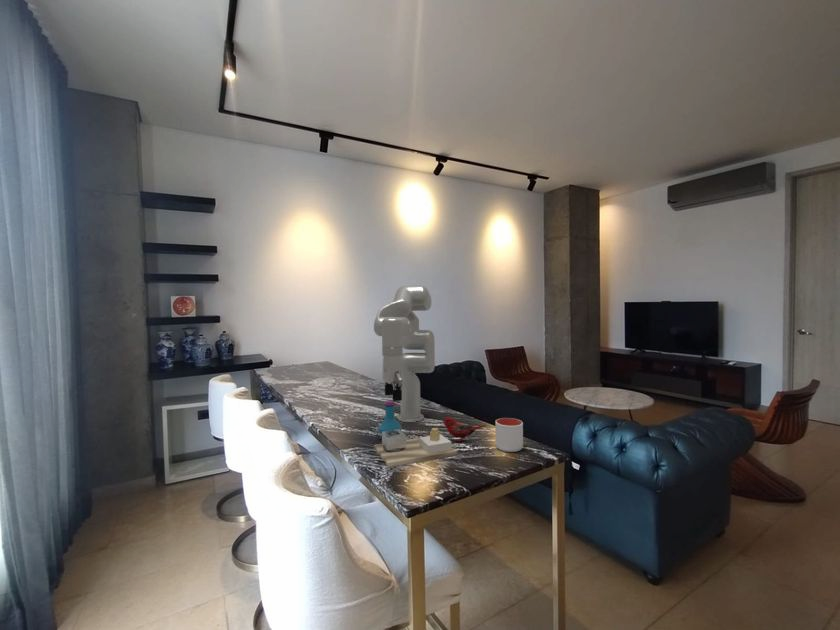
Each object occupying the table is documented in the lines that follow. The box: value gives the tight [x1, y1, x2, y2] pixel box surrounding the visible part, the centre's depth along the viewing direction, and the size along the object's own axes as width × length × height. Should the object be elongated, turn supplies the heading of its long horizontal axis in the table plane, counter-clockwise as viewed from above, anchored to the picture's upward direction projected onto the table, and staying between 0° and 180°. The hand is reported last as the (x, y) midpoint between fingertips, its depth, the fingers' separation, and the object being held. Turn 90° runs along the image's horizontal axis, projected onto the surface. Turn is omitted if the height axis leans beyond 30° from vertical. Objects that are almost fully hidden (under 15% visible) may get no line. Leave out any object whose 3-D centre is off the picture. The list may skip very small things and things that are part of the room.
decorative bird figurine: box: [442, 416, 487, 443], centre depth 150 cm, size 3×18×10 cm, turn 95°
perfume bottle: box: [378, 400, 402, 437], centre depth 154 cm, size 9×9×15 cm
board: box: [373, 437, 458, 468], centre depth 140 cm, size 18×26×2 cm
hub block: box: [418, 427, 452, 454], centre depth 140 cm, size 9×9×7 cm
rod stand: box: [383, 431, 405, 452], centre depth 140 cm, size 8×8×6 cm
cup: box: [495, 417, 524, 453], centre depth 143 cm, size 10×10×10 cm
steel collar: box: [381, 429, 407, 450], centre depth 140 cm, size 7×7×4 cm
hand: (393, 397), depth 140 cm, fingers open, 9 cm apart
